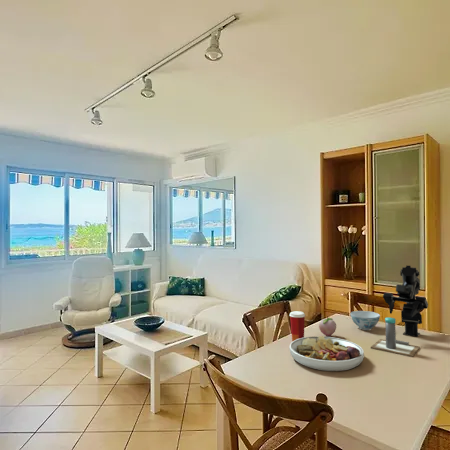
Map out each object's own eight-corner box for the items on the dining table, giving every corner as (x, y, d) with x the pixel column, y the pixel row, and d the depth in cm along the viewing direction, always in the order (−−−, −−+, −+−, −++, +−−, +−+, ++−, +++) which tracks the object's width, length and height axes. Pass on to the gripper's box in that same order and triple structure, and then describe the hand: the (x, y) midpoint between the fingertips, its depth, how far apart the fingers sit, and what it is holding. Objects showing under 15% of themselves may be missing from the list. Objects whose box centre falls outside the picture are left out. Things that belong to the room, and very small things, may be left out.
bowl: (276, 361, 138) (275, 342, 139) (310, 342, 160) (310, 326, 161) (346, 382, 118) (345, 360, 118) (375, 357, 140) (374, 338, 140)
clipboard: (380, 340, 161) (380, 337, 161) (419, 347, 149) (419, 344, 149) (370, 348, 150) (370, 344, 150) (412, 357, 139) (412, 353, 139)
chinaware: (380, 325, 185) (379, 312, 185) (380, 333, 171) (380, 318, 171) (351, 323, 191) (351, 310, 191) (349, 330, 177) (349, 316, 177)
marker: (385, 345, 151) (384, 317, 151) (395, 346, 150) (394, 317, 150) (386, 348, 147) (385, 319, 147) (397, 349, 146) (396, 320, 146)
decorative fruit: (322, 332, 174) (322, 313, 175) (338, 335, 170) (337, 315, 170) (316, 337, 167) (315, 317, 167) (332, 340, 162) (332, 320, 162)
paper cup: (304, 338, 165) (304, 310, 165) (307, 344, 157) (306, 314, 158) (289, 338, 166) (288, 310, 166) (290, 343, 158) (289, 314, 158)
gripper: (383, 276, 166) (375, 302, 158) (425, 280, 152) (418, 308, 145) (390, 290, 171) (382, 315, 163) (431, 294, 158) (424, 322, 150)
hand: (400, 315), depth 155 cm, fingers open, 9 cm apart
